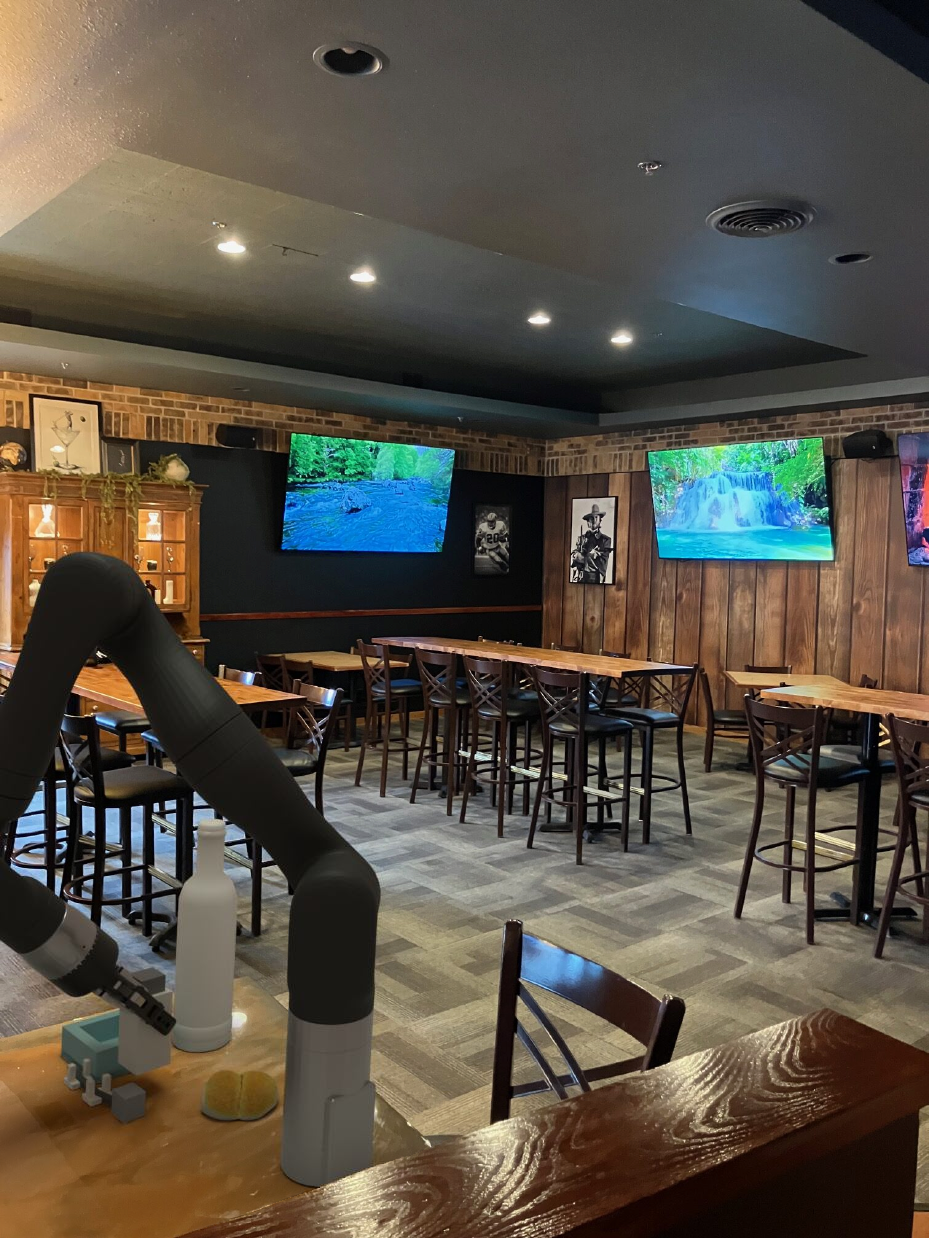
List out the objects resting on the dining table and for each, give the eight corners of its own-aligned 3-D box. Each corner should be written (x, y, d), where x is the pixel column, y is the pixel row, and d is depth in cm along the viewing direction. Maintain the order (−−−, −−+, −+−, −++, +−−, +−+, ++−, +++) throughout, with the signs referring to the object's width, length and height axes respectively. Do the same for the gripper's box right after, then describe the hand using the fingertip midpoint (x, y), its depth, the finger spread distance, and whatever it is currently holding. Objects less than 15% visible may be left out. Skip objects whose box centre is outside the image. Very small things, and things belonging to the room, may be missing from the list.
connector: (170, 1063, 120) (173, 974, 120) (136, 1075, 117) (139, 984, 117) (151, 1050, 123) (154, 964, 123) (117, 1062, 120) (120, 973, 120)
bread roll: (276, 1122, 115) (278, 1088, 115) (198, 1125, 113) (199, 1091, 113) (278, 1086, 123) (280, 1055, 123) (205, 1088, 121) (206, 1057, 121)
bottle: (222, 1054, 130) (233, 830, 129) (163, 1051, 130) (174, 826, 129) (237, 1028, 138) (247, 816, 137) (181, 1024, 138) (191, 813, 137)
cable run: (144, 1115, 114) (145, 1091, 114) (114, 1126, 112) (115, 1102, 112) (89, 1070, 124) (90, 1048, 124) (60, 1079, 121) (61, 1057, 121)
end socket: (165, 1060, 127) (166, 1030, 127) (95, 1084, 121) (96, 1052, 120) (129, 1034, 134) (130, 1006, 134) (61, 1056, 127) (62, 1025, 127)
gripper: (120, 936, 109) (210, 1012, 118) (62, 904, 119) (150, 977, 128) (72, 996, 106) (169, 1070, 115) (17, 958, 115) (111, 1029, 125)
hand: (159, 1020), depth 121 cm, fingers closed on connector, 4 cm apart
